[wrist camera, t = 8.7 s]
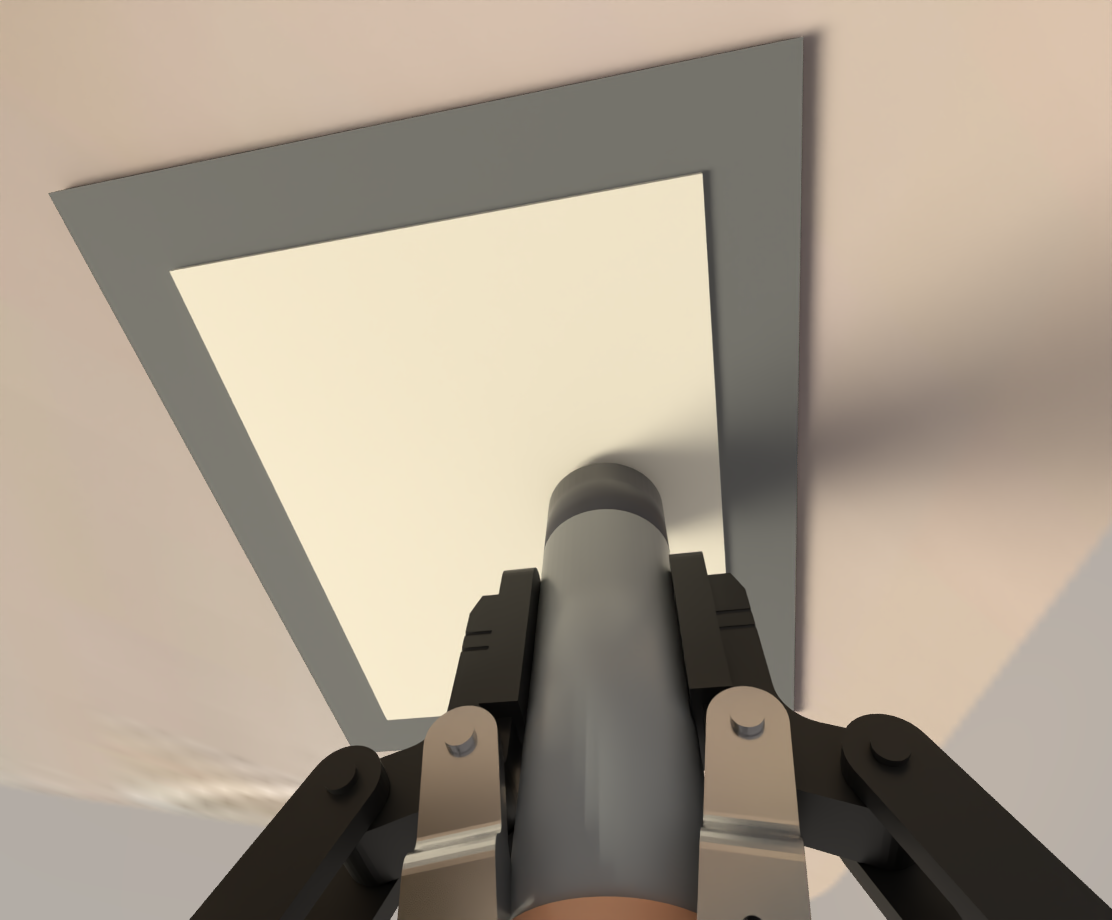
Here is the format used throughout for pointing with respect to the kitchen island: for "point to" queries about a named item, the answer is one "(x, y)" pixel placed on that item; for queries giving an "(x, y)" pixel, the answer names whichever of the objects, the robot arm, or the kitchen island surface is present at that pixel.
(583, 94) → the writing mat
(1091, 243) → the kitchen island surface
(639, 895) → the marker
